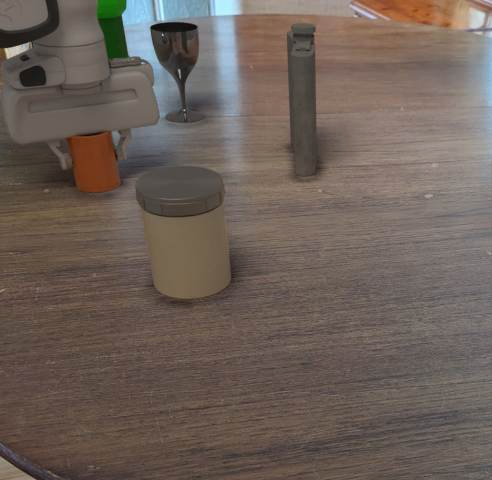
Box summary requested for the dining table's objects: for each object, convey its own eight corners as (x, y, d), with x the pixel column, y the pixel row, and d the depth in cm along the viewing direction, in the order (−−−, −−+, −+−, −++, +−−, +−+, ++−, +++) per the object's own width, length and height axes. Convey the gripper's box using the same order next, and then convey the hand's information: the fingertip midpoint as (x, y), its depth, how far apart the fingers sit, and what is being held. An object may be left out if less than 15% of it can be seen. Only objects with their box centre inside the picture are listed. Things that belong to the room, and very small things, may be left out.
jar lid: (154, 223, 74) (151, 205, 73) (127, 190, 81) (124, 174, 79) (237, 205, 79) (236, 189, 77) (206, 176, 85) (204, 160, 84)
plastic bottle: (76, 88, 143) (46, -58, 128) (126, 79, 149) (103, -61, 134) (98, 101, 137) (69, -51, 122) (150, 92, 143) (128, -54, 128)
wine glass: (154, 119, 130) (140, 29, 121) (177, 107, 136) (165, 20, 127) (194, 125, 128) (183, 34, 119) (215, 112, 134) (206, 24, 125)
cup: (82, 195, 103) (70, 140, 98) (71, 180, 107) (59, 126, 102) (126, 187, 106) (116, 133, 101) (114, 173, 110) (103, 120, 105)
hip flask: (290, 140, 124) (285, 12, 112) (314, 140, 125) (311, 13, 113) (295, 176, 112) (290, 37, 100) (321, 176, 112) (319, 37, 100)
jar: (168, 306, 81) (152, 210, 74) (143, 271, 87) (126, 179, 80) (243, 287, 85) (235, 194, 78) (214, 255, 91) (204, 166, 84)
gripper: (143, 49, 103) (158, 145, 111) (-13, 64, 94) (15, 167, 102) (158, 60, 99) (172, 159, 107) (-4, 77, 90) (24, 183, 98)
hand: (94, 163), depth 105 cm, fingers closed on cup, 6 cm apart
